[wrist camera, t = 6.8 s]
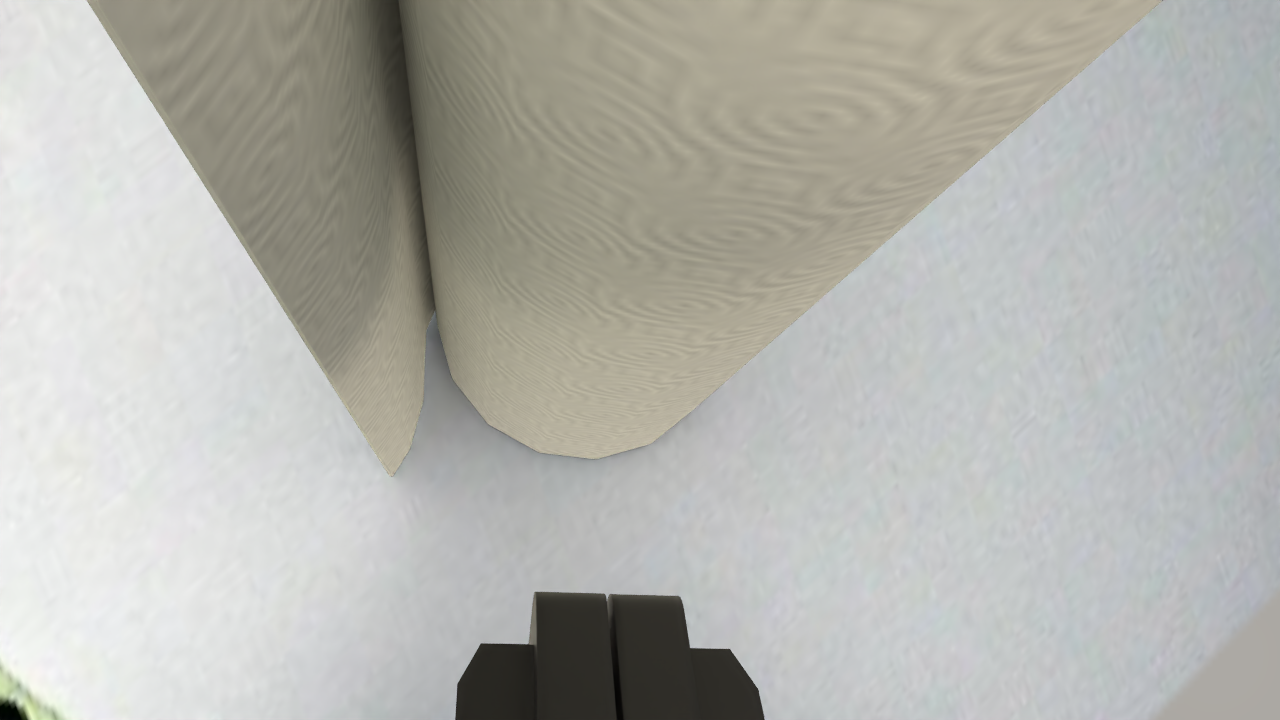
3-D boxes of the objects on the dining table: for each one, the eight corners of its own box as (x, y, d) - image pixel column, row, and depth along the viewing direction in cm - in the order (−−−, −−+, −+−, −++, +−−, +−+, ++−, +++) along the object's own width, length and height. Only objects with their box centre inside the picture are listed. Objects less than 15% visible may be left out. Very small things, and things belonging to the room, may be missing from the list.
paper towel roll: (705, 179, 26) (1580, -1403, 6) (735, 450, 25) (1976, -270, 4) (373, 194, 25) (-80, -1712, 4) (389, 478, 24) (-120, -307, 3)
